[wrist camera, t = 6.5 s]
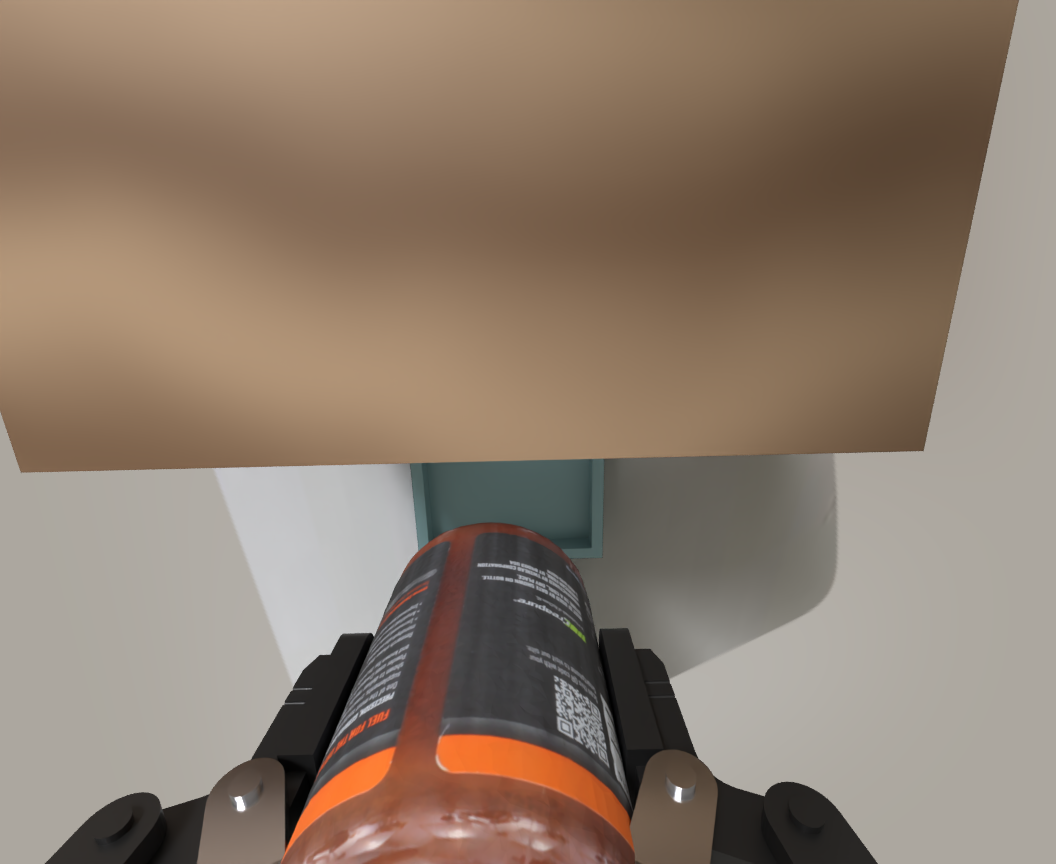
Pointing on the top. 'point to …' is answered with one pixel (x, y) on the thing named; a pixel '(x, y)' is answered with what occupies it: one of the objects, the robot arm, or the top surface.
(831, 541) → the top surface
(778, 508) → the top surface
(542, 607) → the supplement bottle
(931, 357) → the wooden bridge stand
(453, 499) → the dustpan
